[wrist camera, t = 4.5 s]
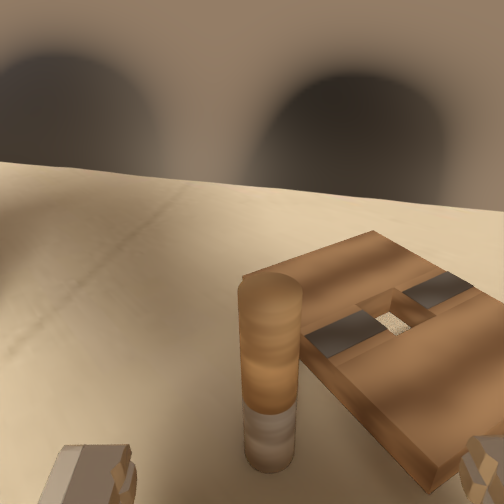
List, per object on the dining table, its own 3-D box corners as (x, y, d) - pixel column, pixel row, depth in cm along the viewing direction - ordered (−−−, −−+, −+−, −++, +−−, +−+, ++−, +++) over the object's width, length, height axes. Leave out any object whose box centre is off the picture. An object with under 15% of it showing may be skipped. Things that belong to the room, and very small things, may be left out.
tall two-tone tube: (235, 442, 31) (226, 284, 24) (276, 420, 32) (278, 265, 25) (261, 482, 28) (259, 319, 21) (304, 457, 30) (315, 296, 23)
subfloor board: (243, 299, 45) (242, 275, 44) (369, 251, 53) (373, 229, 51) (428, 494, 28) (438, 466, 26) (578, 380, 35) (593, 352, 34)
